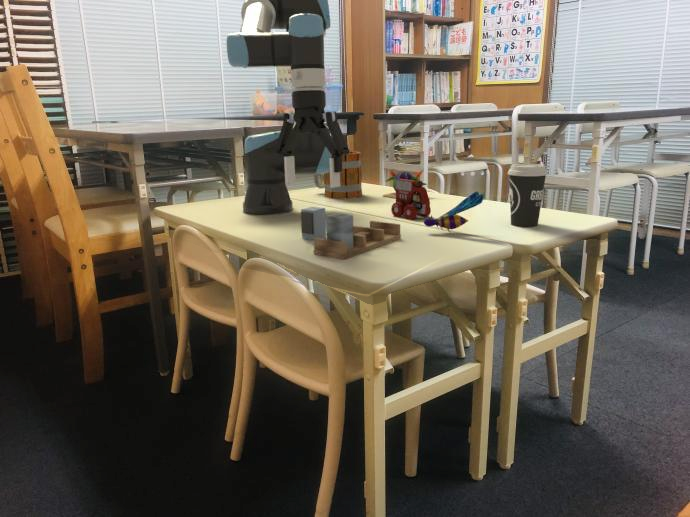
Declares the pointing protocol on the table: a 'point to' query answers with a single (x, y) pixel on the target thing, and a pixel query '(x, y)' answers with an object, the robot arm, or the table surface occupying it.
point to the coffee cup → (526, 193)
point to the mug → (345, 178)
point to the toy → (455, 213)
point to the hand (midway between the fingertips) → (312, 185)
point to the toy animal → (401, 176)
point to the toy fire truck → (411, 199)
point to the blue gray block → (313, 223)
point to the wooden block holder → (353, 237)
